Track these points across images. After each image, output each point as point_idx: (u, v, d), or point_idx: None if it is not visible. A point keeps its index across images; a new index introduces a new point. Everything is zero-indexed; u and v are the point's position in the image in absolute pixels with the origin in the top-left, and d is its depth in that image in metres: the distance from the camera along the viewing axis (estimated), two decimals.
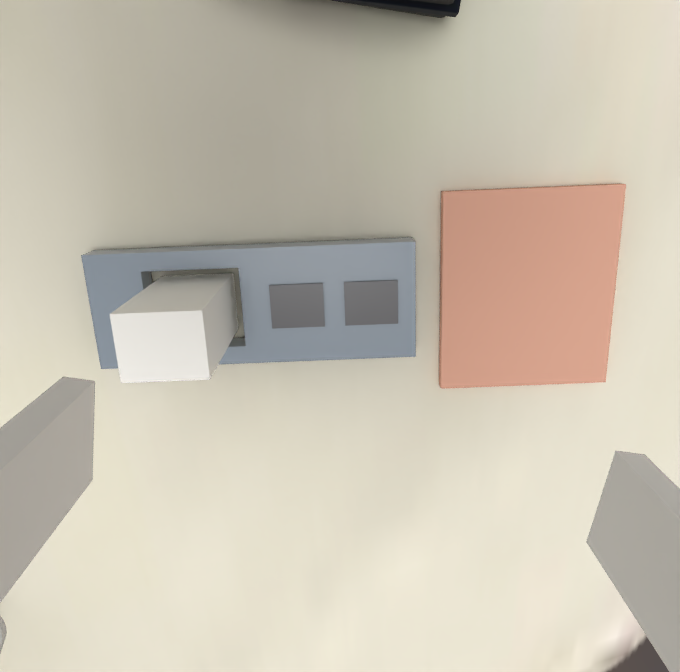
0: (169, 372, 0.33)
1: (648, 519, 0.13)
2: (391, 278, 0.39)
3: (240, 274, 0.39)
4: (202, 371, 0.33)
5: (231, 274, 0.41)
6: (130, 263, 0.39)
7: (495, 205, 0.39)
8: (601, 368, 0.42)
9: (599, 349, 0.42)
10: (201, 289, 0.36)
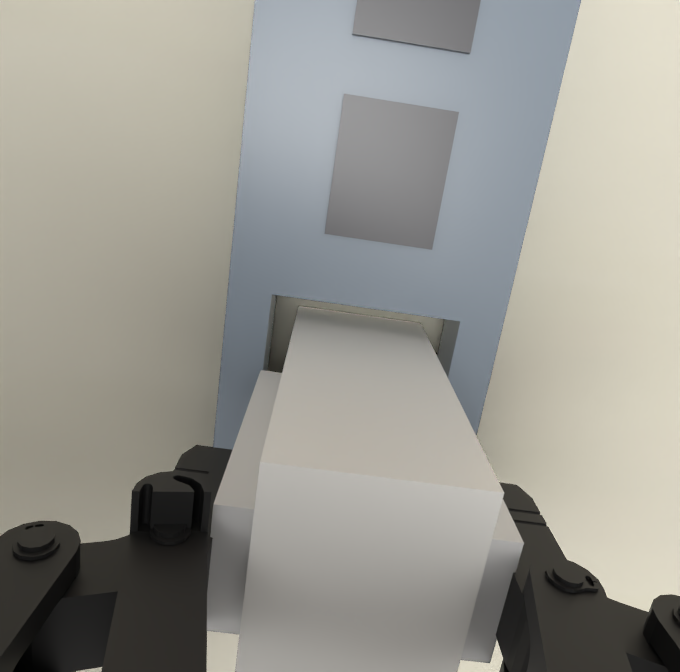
0: (446, 599, 0.10)
1: None
2: None
3: (288, 293, 0.17)
4: (469, 508, 0.10)
5: None
6: None
7: None
8: None
9: None
10: None
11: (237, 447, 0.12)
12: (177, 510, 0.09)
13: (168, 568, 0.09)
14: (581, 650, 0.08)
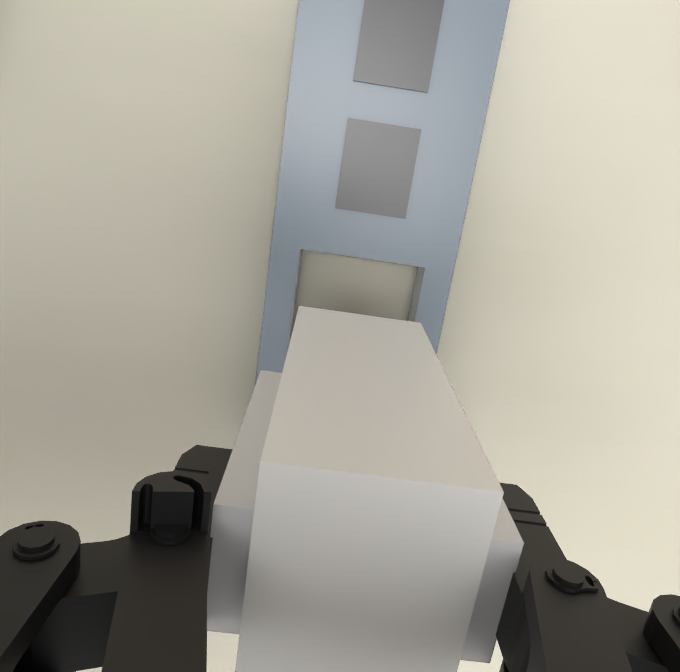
0: (445, 598, 0.10)
1: None
2: None
3: (310, 248, 0.25)
4: (469, 508, 0.10)
5: None
6: None
7: None
8: None
9: None
10: None
11: (237, 447, 0.12)
12: (177, 510, 0.09)
13: (168, 568, 0.09)
14: (581, 650, 0.08)
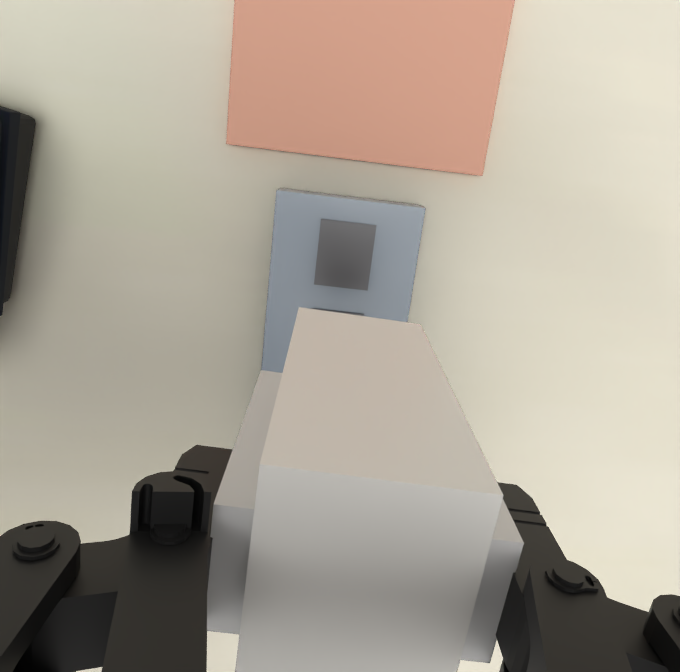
0: (445, 601, 0.10)
1: None
2: (318, 226, 0.32)
3: None
4: (468, 510, 0.10)
5: None
6: None
7: (249, 76, 0.31)
8: None
9: None
10: None
11: (237, 447, 0.12)
12: (177, 510, 0.09)
13: (168, 568, 0.09)
14: (581, 650, 0.08)
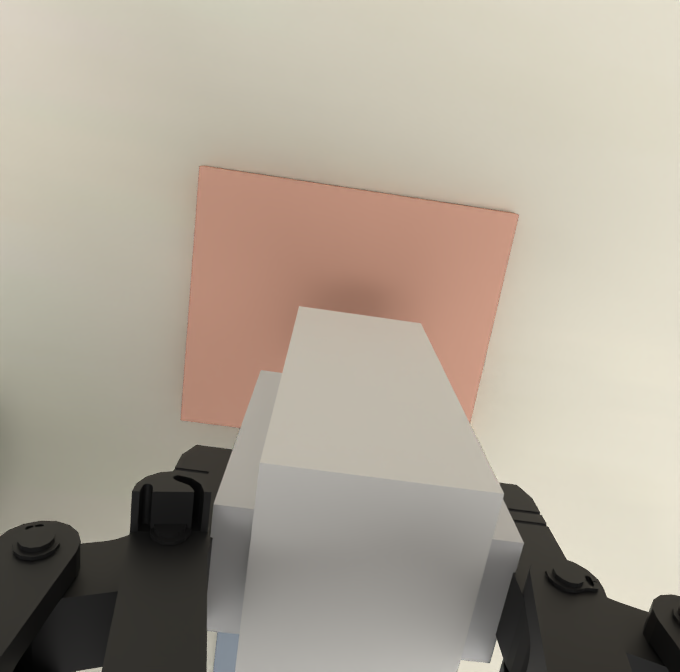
0: (446, 600, 0.10)
1: None
2: None
3: None
4: (469, 509, 0.10)
5: None
6: None
7: (207, 356, 0.28)
8: (493, 220, 0.26)
9: (459, 221, 0.26)
10: None
11: (237, 447, 0.12)
12: (177, 510, 0.09)
13: (168, 568, 0.09)
14: (581, 650, 0.08)
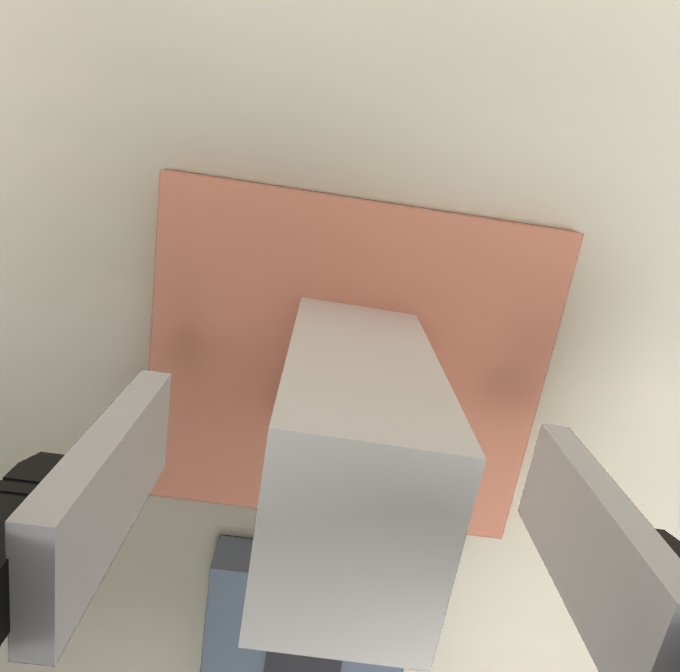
0: (433, 556, 0.11)
1: (563, 484, 0.14)
2: None
3: None
4: (455, 473, 0.11)
5: (300, 301, 0.20)
6: None
7: (174, 415, 0.21)
8: (549, 241, 0.19)
9: (505, 242, 0.20)
10: None
11: (69, 455, 0.11)
12: None
13: None
14: None
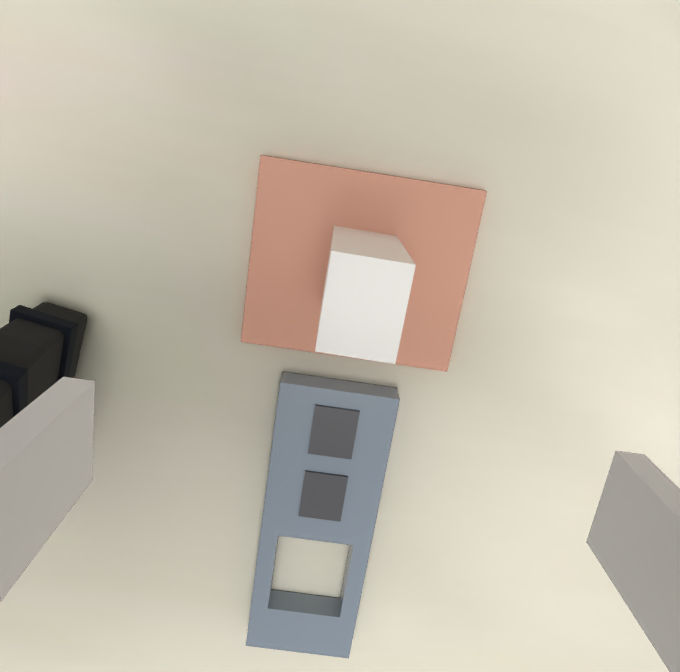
0: (395, 308, 0.28)
1: (648, 519, 0.13)
2: (312, 410, 0.39)
3: (284, 535, 0.42)
4: (403, 270, 0.27)
5: None
6: (259, 613, 0.44)
7: (261, 293, 0.38)
8: (468, 194, 0.36)
9: (444, 195, 0.36)
10: None
11: None
12: None
13: None
14: None
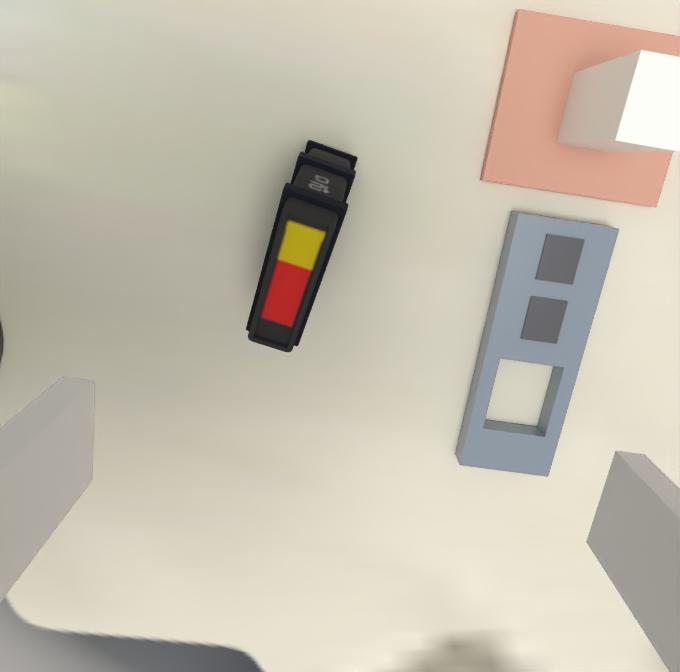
0: None
1: (648, 519, 0.13)
2: (544, 239, 0.46)
3: (505, 357, 0.49)
4: None
5: (576, 72, 0.43)
6: (474, 434, 0.51)
7: (505, 135, 0.45)
8: None
9: (670, 45, 0.43)
10: (597, 81, 0.39)
11: None
12: None
13: None
14: None
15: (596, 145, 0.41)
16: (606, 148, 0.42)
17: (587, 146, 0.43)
